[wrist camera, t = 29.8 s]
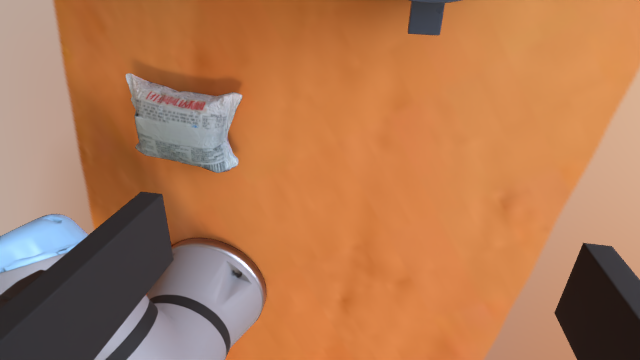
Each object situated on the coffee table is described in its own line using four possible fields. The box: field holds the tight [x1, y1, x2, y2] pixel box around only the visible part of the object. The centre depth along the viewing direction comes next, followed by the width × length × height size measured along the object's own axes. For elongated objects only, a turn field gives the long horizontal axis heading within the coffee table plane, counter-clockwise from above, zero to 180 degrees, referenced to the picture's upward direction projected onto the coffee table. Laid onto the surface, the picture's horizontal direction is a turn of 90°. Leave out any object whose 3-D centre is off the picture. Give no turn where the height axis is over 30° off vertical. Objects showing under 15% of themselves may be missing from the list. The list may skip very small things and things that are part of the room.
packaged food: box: [126, 73, 242, 173], centre depth 41 cm, size 9×12×5 cm
